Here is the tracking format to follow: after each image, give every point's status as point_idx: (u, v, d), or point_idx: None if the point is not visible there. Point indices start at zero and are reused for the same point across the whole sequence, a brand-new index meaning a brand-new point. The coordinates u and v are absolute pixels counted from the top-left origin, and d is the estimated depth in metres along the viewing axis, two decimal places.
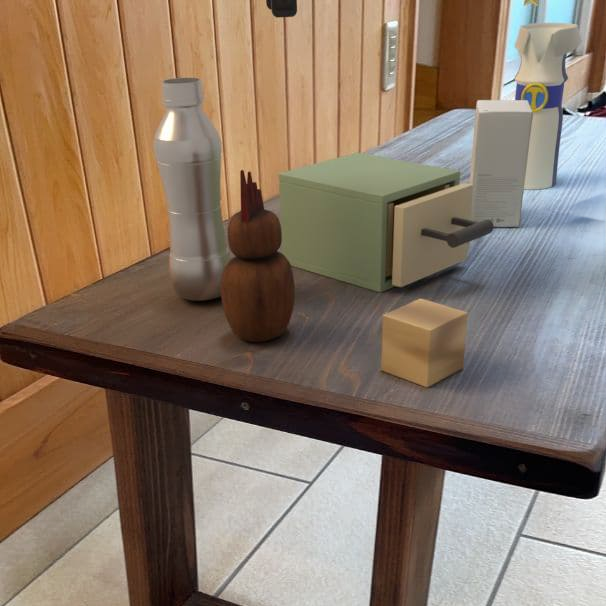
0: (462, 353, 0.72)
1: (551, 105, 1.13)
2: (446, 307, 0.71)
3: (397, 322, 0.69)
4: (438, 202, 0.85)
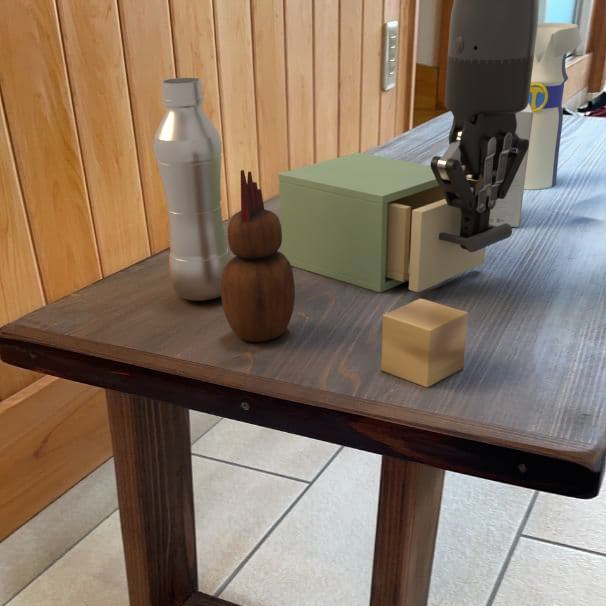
0: (462, 353, 0.72)
1: (551, 105, 1.13)
2: (446, 307, 0.71)
3: (397, 322, 0.69)
4: None
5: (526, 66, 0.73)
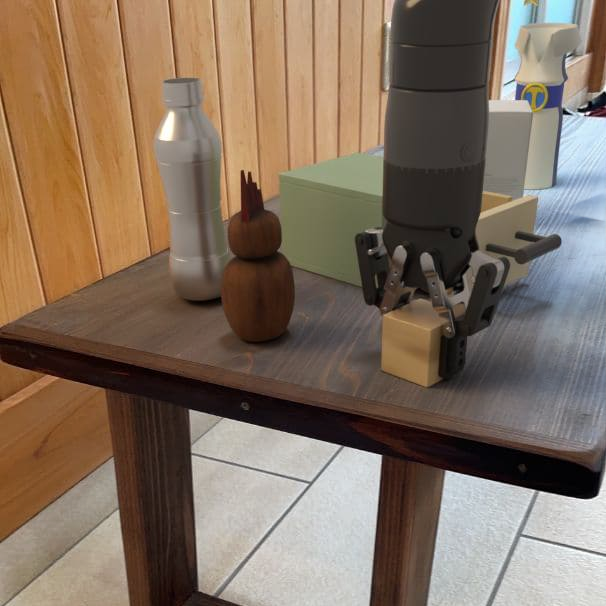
0: None
1: (551, 105, 1.13)
2: None
3: (397, 322, 0.69)
4: (503, 216, 0.81)
5: None
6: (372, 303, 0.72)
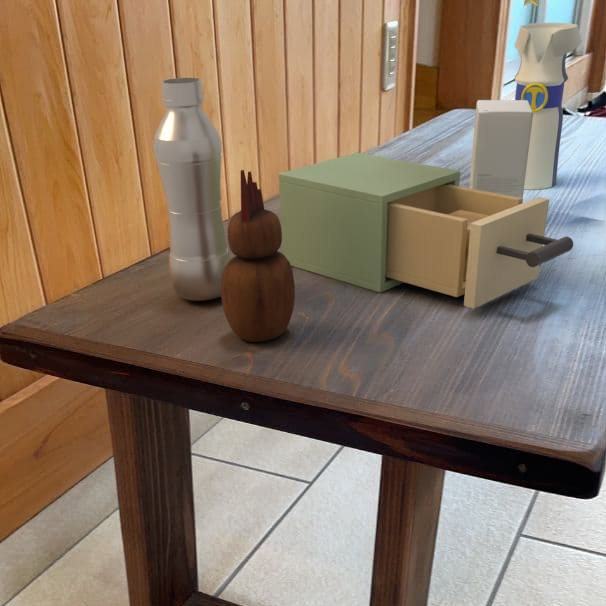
0: None
1: (551, 105, 1.13)
2: (482, 215, 0.85)
3: None
4: (514, 218, 0.80)
5: None
6: None
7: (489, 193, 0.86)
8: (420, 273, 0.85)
